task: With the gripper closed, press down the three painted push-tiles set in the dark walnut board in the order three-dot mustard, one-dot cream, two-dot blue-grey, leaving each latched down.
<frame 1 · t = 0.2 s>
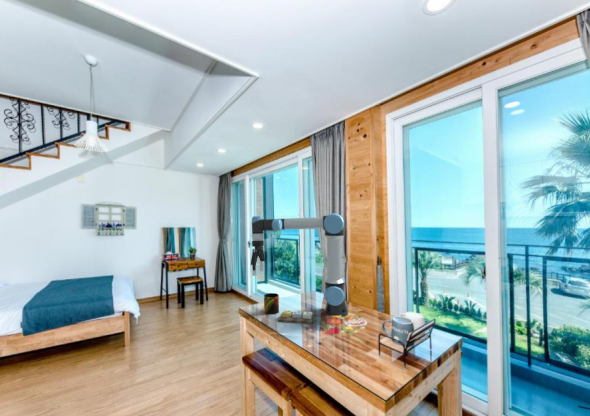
hand: (258, 273, 170), 27 cm above the table, fingers open, 13 cm apart
board: (297, 320, 161), on the table
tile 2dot: (297, 315, 161), point 3 cm above the table, slide at 0.0 cm
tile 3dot: (286, 314, 162), point 3 cm above the table, slide at 0.0 cm
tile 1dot: (307, 315, 160), point 3 cm above the table, slide at 0.0 cm
mug: (270, 313, 175), on the table
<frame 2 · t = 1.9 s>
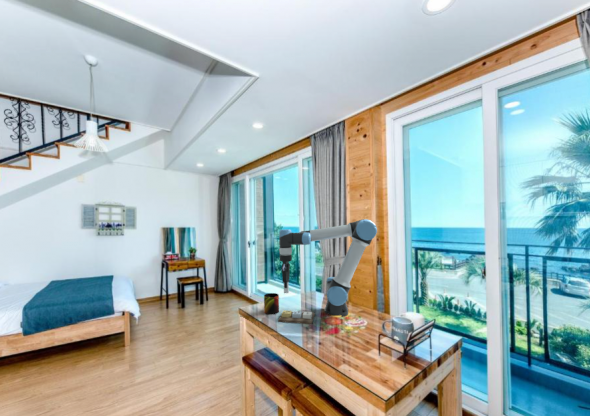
hand: (286, 292, 163), 16 cm above the table, fingers closed
nothing on the table moved.
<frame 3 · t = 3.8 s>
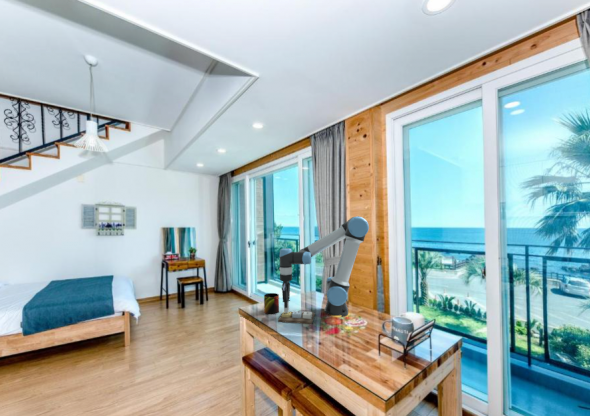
hand: (286, 312, 162), 5 cm above the table, fingers closed
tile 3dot: (286, 315, 162), point 2 cm above the table, slide at 0.6 cm, touching gripper
everything else where it was.
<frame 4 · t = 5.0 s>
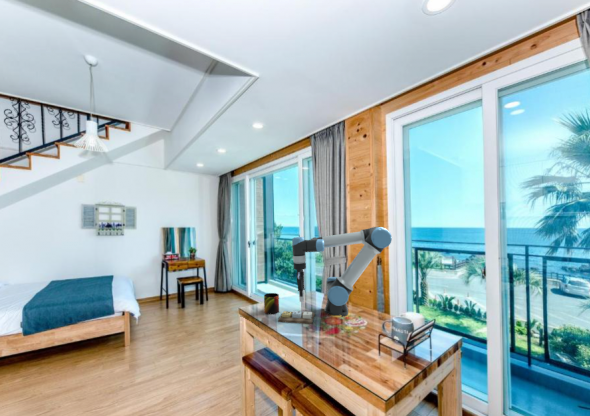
hand: (302, 301, 161), 12 cm above the table, fingers closed
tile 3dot: (286, 315, 162), point 2 cm above the table, slide at 0.7 cm
everything else where it was.
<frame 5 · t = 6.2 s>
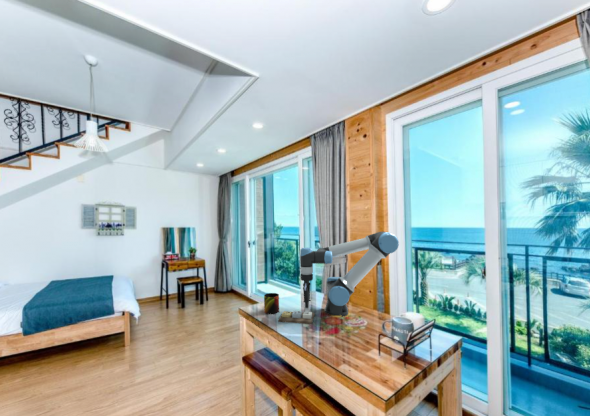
hand: (307, 312, 160), 5 cm above the table, fingers closed
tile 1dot: (307, 316, 160), point 3 cm above the table, slide at 0.1 cm, touching gripper
everything else where it was.
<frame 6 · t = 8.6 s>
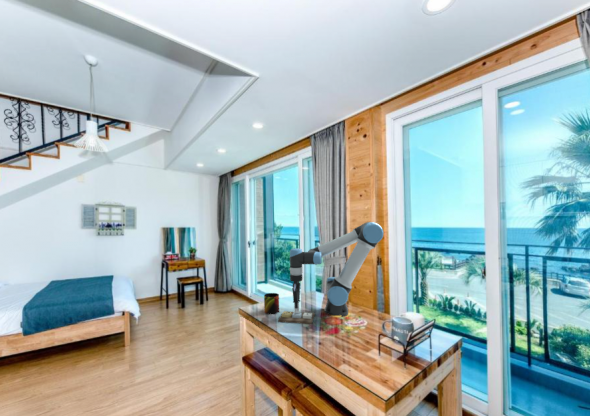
hand: (296, 312, 161), 4 cm above the table, fingers closed
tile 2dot: (297, 316, 161), point 2 cm above the table, slide at 0.7 cm, touching gripper
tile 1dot: (307, 317, 160), point 2 cm above the table, slide at 0.7 cm
everything else where it was.
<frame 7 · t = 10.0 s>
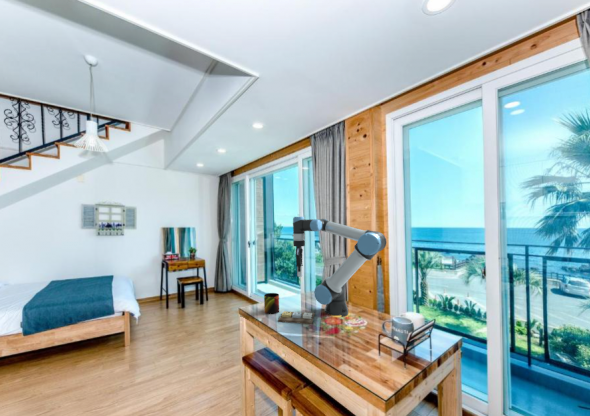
hand: (299, 276, 172), 24 cm above the table, fingers closed
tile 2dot: (297, 316, 161), point 2 cm above the table, slide at 0.7 cm
everything else where it was.
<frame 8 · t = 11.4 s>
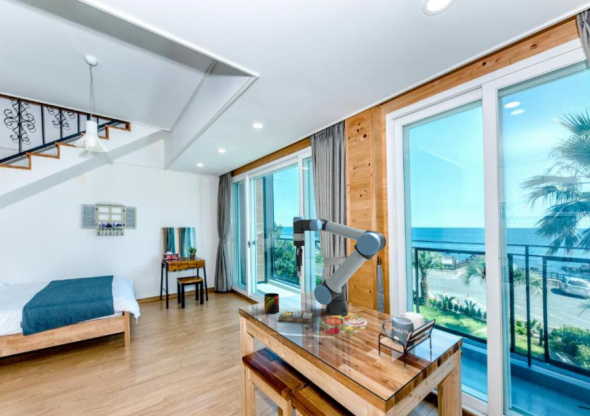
hand: (299, 276, 173), 24 cm above the table, fingers closed
nothing on the table moved.
at the end: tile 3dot slide at 0.7 cm; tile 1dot slide at 0.7 cm; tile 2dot slide at 0.7 cm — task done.
